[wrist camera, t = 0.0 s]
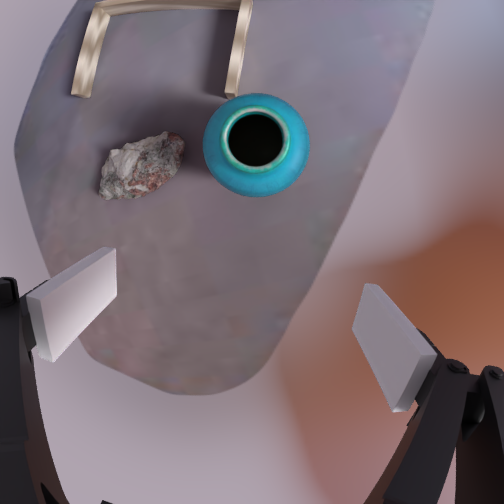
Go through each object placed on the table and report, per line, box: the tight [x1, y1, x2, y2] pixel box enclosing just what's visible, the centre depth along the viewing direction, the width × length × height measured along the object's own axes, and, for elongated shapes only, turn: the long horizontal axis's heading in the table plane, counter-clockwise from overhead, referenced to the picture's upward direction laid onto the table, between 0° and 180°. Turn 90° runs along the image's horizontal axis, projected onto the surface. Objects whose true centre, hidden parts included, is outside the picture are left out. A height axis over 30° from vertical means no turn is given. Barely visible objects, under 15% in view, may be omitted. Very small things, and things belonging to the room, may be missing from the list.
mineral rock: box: [98, 131, 185, 200], centre depth 39 cm, size 15×8×4 cm, turn 99°
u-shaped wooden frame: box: [71, 0, 253, 99], centre depth 33 cm, size 16×24×4 cm
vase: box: [203, 93, 310, 197], centre depth 30 cm, size 11×11×19 cm
